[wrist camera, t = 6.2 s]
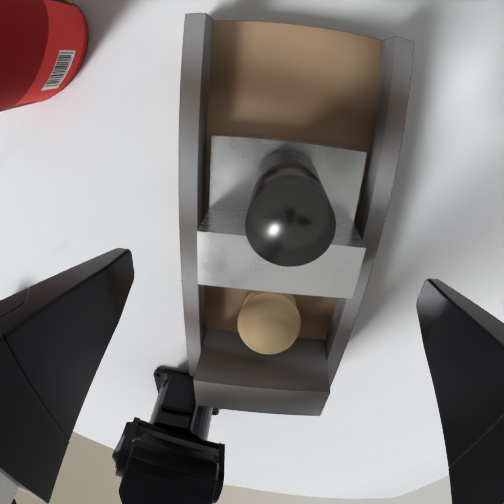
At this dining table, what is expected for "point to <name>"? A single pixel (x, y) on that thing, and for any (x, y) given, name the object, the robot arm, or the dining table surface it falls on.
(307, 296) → the press base
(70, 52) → the canned food
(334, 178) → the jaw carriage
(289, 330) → the tan rounded piece
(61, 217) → the dining table surface
